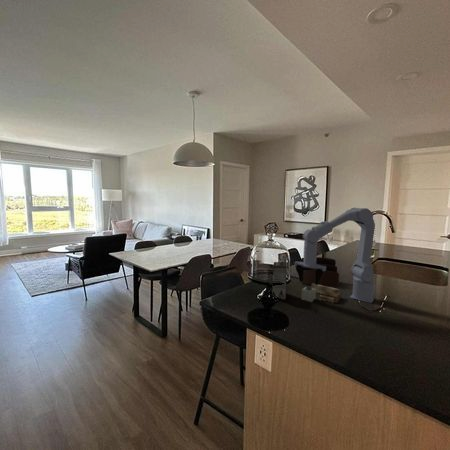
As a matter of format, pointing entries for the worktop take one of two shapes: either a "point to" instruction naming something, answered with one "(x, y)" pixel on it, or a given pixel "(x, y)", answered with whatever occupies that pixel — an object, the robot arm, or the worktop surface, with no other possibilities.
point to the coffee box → (280, 279)
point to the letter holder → (328, 276)
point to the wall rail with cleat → (327, 293)
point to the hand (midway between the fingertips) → (309, 282)
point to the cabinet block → (308, 294)
